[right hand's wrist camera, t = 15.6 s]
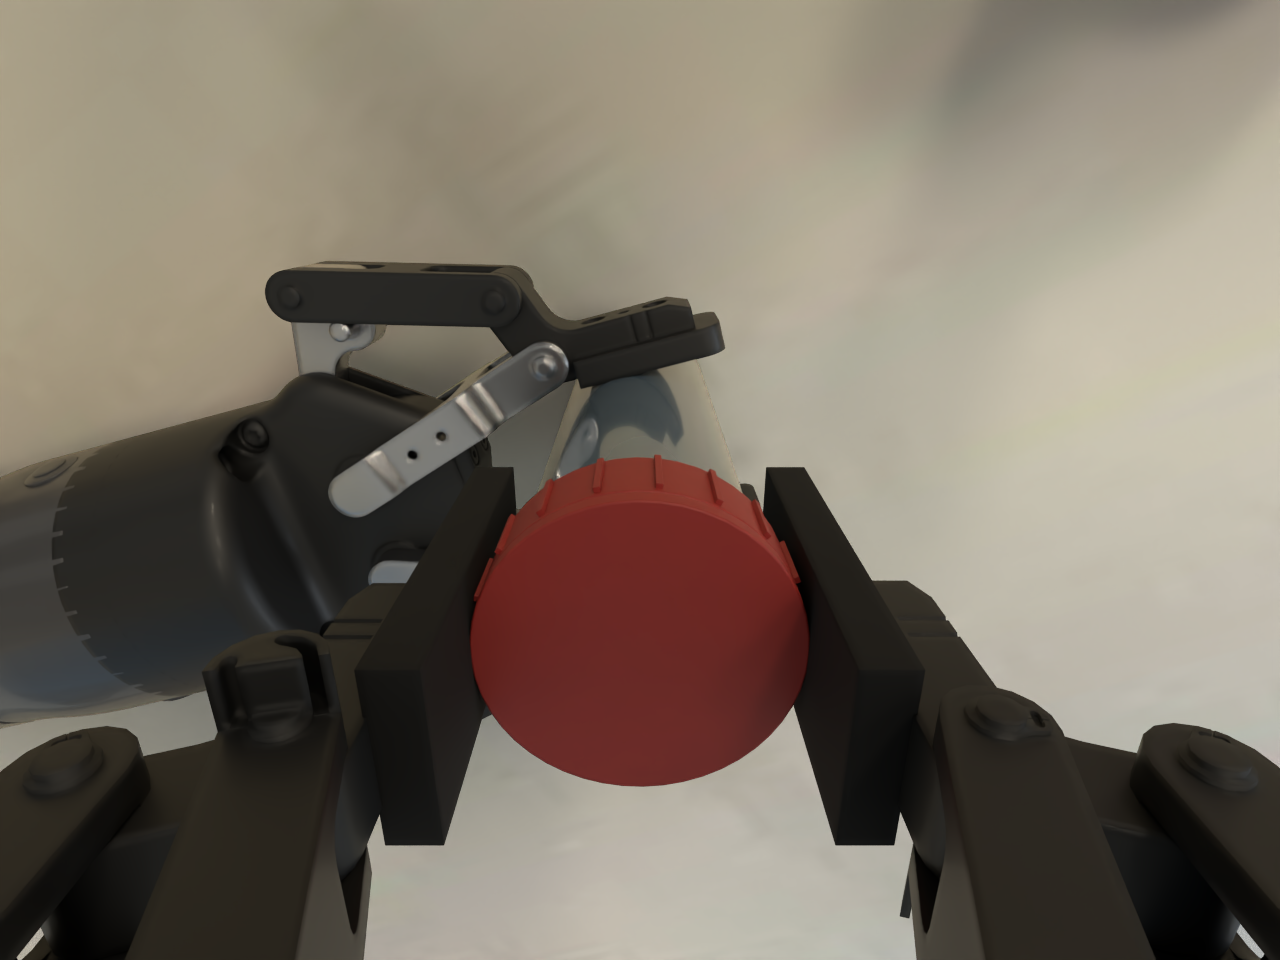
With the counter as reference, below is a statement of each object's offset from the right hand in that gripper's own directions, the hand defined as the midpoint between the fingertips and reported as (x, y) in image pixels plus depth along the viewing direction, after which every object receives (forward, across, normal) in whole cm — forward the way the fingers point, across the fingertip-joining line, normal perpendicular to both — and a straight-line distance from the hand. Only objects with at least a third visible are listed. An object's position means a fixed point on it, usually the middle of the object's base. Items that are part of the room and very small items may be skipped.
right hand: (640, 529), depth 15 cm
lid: (-4, 0, 0) cm, 4 cm away
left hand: (+5, -3, -1) cm, 6 cm away
